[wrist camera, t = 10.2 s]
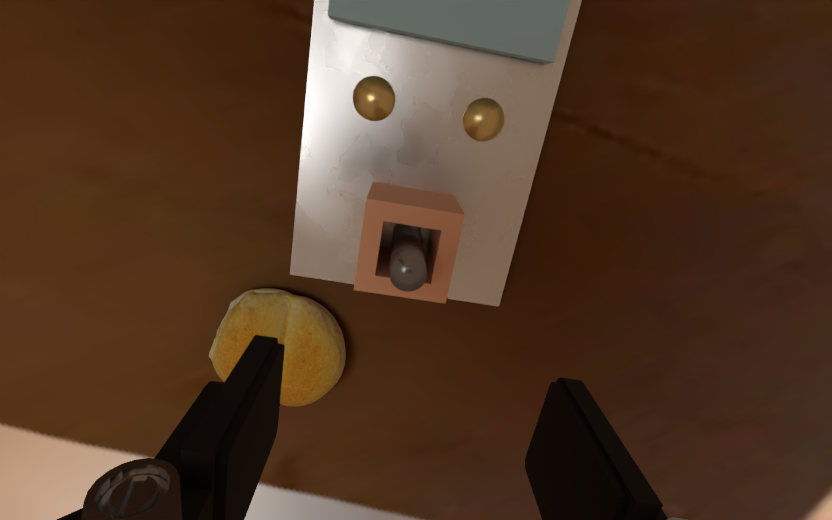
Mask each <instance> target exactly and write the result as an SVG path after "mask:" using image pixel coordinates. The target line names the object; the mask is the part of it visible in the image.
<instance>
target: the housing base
mask: <svg viewBox="0 0 832 520" xmlns="http://www.w3.org/2000/svg"><path fill="white" fill-rule="evenodd" d="M581 1H582V0H570V4H569V7H568V11H567V15H566V19H565V23H564V27H563V30H562V34H561V38H560V42H559V46H558V49H557V53H556V57H555V61H554V62H553V63H550V64H546V63H541V62H536V61H531V60H526V59H521V58H516V57H512V56H507V55H502V54H497V53H492V52H487V51H483V50H478V49H473V48H468V47H463V46H458V45H454V44H449V43H444V42H439V41H434V40H429V39H425V38H420V37H415V36H410V35H405V34H400V33H396V32H391V31H386V30H381V29H376V28H371V27H366V26H362V25H357V24H352V23H347V22H342V21H337V20H333V19H330V18H329V16H328V7H329V0H314V9H313V21H312V32H311V43H310V54H309V65H308V77H307V88H306V99H305V110H304V122H303V133H302V144H301V155H300V167H299V178H298V189H297V200H296V211H295V223H294V234H293V245H292V256H291V268H290V275H297V276H304V277H310V278H317V279H323V280H330V281H336V282H343V283H349V284H355V277H356V270H357V263H358V255H359V248H360V241H361V233H362V226H363V219H364V212H365V204H366V198H367V195H368V193H369V190H370V188H371V185H372V183H373V182H378V183H384V184H390V185H396V186H402V187H408V188H413V189H419V190H425V191H431V192H437V193H443V194H449V195H454V196H455V198H456V200H457V202H458V203H459V205H460V207H461V209H462V210H463V212H464V214H465V217H464V221H463V226H462V231H461V235H460V240H459V244H458V249H457V254H456V258H455V263H454V267H453V272H452V276H451V281H450V286H449V290H448V295H447V299H453V300H460V301H466V302H473V303H479V304H486V305H492V306H499V304H500V301H501V297H502V293H503V290H504V286H505V282H506V279H507V275H508V271H509V267H510V264H511V260H512V256H513V253H514V249H515V245H516V242H517V238H518V234H519V230H520V227H521V223H522V219H523V216H524V212H525V208H526V205H527V201H528V197H529V194H530V190H531V186H532V182H533V179H534V175H535V171H536V168H537V164H538V160H539V157H540V153H541V149H542V145H543V142H544V138H545V134H546V131H547V127H548V123H549V120H550V116H551V112H552V108H553V105H554V101H555V97H556V94H557V90H558V86H559V83H560V79H561V75H562V72H563V68H564V64H565V60H566V57H567V53H568V49H569V46H570V42H571V38H572V35H573V31H574V27H575V23H576V20H577V16H578V12H579V9H580V5H581ZM430 231H431V229H430V228H423V227H417V226H411V225H405V224H399V223H392V222H386V221H384V222H383V229H382V235H381V242H380V247H387V248H391V261H390V273H389V275H390V280H391V282H392V284H393V285H394V286H395V287H396V288H397V289H399V290H401V291H405V292H411V291H415V290H417V289H419V288H420V287H422V286H423V284H424V283H425V281H426V279H427V269H426V262H425V255H424V253H425V254H426V252H427V246H428V241H429V236H430Z"/></svg>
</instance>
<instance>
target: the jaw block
mask: <svg viewBox="0 0 832 520" xmlns="http://www.w3.org/2000/svg"><path fill="white" fill-rule="evenodd" d="M464 217H465V214H464V212H463V210H462V209H461V207H460V205H459V203H458V202H457V200H456V198H455V196H454V195H449V194H443V193H437V192H431V191H425V190H419V189H413V188H408V187H402V186H396V185H390V184H384V183H378V182H373V183H372V185H371V188H370V190H369V193H368V195H367V198H366V204H365V212H364V219H363V226H362V233H361V241H360V248H359V255H358V263H357V270H356V277H355V284H354V290H357V291H364V292H371V293H377V294H384V295H391V296H398V297H405V298H411V299H418V300H425V301H432V302H438V303H445V304H446V299H447V295H448V290H449V286H450V281H451V276H452V272H453V267H454V263H455V258H456V254H457V249H458V244H459V240H460V235H461V231H462V226H463V221H464ZM384 221H386V222H392V223H399V224H405V225H411V226H417V227H423V228H430V229H431V231H430V236H429V241H428V246H427V252H426V254H425V253H424V255H425V262H426V269H427V279H426V281H425V283H424V284H423V286H422V287H420V288H419V289H417V290H415V291H411V292H405V291H401V290H399V289H397V288H396V287H395V286H394V285H393V284H392V282H391V280H390V275H389V273H390V261H391V248H387V247H380V242H381V235H382V229H383V222H384Z"/></svg>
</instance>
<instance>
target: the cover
mask: <svg viewBox="0 0 832 520" xmlns="http://www.w3.org/2000/svg"><path fill="white" fill-rule="evenodd" d="M569 4H570V0H329V7H328V16H329V18H330V19H333V20H337V21H342V22H347V23H352V24H357V25H362V26H366V27H371V28H376V29H381V30H386V31H391V32H396V33H400V34H405V35H410V36H415V37H420V38H425V39H429V40H434V41H439V42H444V43H449V44H454V45H458V46H463V47H468V48H473V49H478V50H483V51H487V52H492V53H497V54H502V55H507V56H512V57H516V58H521V59H526V60H531V61H536V62H541V63H546V64H550V63H553V62H554V61H555V57H556V53H557V49H558V46H559V42H560V38H561V34H562V30H563V27H564V23H565V19H566V15H567V11H568V7H569Z"/></svg>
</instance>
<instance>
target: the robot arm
mask: <svg viewBox="0 0 832 520" xmlns="http://www.w3.org/2000/svg"><path fill="white" fill-rule="evenodd" d="M284 351H285V345H284V344H278V338H275V337H268V336H261V335H255V336H254V337H253V339H252V340H251V342H250V343H249V345H248V347H247V348H246V350H245V351H244V353H243V354H242V356H241V357H240V359H239V361H238V362H237V364H236V365H235V367H234V368H233V370H232V371H231V373H230V374H229V376H228V378H227V379H226V381H225V382H224V383H223V382H216V381H211V382H209V383H208V384H207V385H206V386H205V387H204V389H203V390H202V392H201V393H200V395H199V396H198V397H197V399H196V400H195V402H194V403H193V405H192V406H191V407H190V409H189V410H188V412H187V413H186V414H185V416H184V417H183V419H182V420H181V422H180V423H179V424H178V426H177V427H176V429H175V430H174V431H173V433H172V434H171V436H170V437H169V439H168V440H167V441H166V443H165V444H164V446H163V447H162V449H161V450H160V451H159V453H158V454H157V456H156V457H155V458H154V459H151V458H147V459H139V460H134V461H130V462H127V463H124V464H121V465H119V466H117V467H115V468H113V469H111V470H110V471H108V472H106V473H105V474H104V475H103V476H101V477H100V478H99V479H98V480H96V482H95V483H94V484H93V485H92V487H91V488H90V489H89V490H88V492H87V495H86V498H85V501H84V505H83V508H82V509H80V510H77V511H75V512H73V513H71V514H68V515H66V516H64V517H62V518H59V519H57V520H244V518H245V516H246V513H247V510H248V508H249V505H250V503H251V500H252V497H253V495H254V492H255V490H256V487H257V485H258V482H259V479H260V477H261V474H262V472H263V469H264V466H265V464H266V461H267V459H268V456H269V453H270V451H271V448H272V446H273V443H274V440H275V437H276V433H277V428H278V417H279V406H280V395H281V384H282V373H283V362H284ZM525 468H526V473H527V476H528V478H529V481H530V484H531V487H532V490H533V493H534V496H535V499H536V502H537V505H538V508H539V511H540V514H541V517H542V520H686V519H681V518H671V519H668V518H667V517H666V515H665V513H664V512H663V510H662V509H661V508H662V506H663V505H662V503H661V502H660V500H659V498H658V497H657V495H656V494H655V492H654V491H653V489H652V488H651V486H650V485H649V483H648V482H647V480H646V479H645V477H644V475H643V474H642V472H641V471H640V469H639V468H638V466H637V465H636V463H635V462H634V460H633V459H632V457H631V456H630V454H629V452H628V451H627V449H626V448H625V446H624V445H623V443H622V442H621V440H620V439H619V437H618V436H617V434H616V433H615V431H614V429H613V428H612V426H611V425H610V423H609V422H608V420H607V419H606V417H605V416H604V414H603V413H602V411H601V410H600V408H599V406H598V405H597V403H596V402H595V400H594V399H593V397H592V396H591V394H590V393H589V391H588V390H587V388H586V386H585V385H584V383H583V382H582V381H580V380H574V379H567V378H559V379H558V380H557V381H556V382H552V383H551V384H550V386H549V389H548V392H547V395H546V398H545V401H544V404H543V407H542V410H541V413H540V416H539V419H538V422H537V425H536V428H535V431H534V434H533V437H532V440H531V443H530V446H529V449H528V452H527V455H526V458H525Z"/></svg>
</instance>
